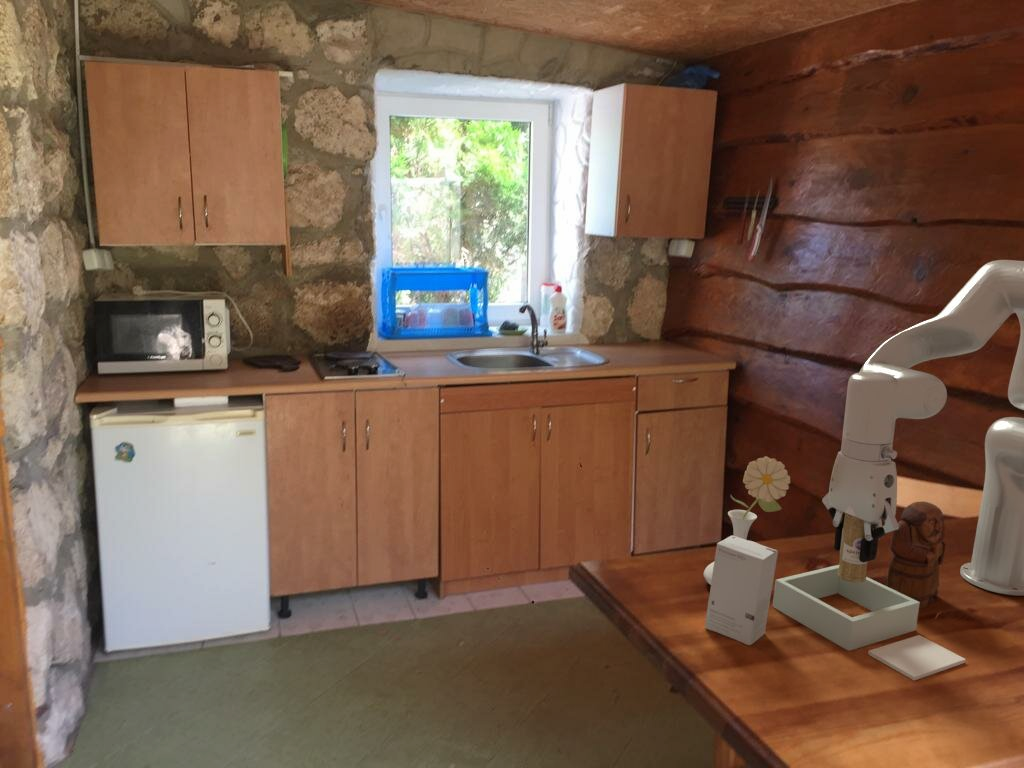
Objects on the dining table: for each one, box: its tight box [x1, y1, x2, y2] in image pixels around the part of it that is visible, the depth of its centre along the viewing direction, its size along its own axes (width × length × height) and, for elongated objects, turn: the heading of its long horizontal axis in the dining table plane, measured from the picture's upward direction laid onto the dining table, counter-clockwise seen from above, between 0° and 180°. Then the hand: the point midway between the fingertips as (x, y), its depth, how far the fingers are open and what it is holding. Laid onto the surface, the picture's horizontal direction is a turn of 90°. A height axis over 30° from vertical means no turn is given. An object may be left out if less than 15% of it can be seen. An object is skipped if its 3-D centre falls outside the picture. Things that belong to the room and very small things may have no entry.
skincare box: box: [704, 534, 779, 646], centre depth 133 cm, size 8×6×15 cm
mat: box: [867, 634, 966, 681], centre depth 128 cm, size 12×8×1 cm, turn 118°
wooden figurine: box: [886, 501, 947, 609], centre depth 147 cm, size 12×6×18 cm, turn 130°
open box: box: [771, 564, 920, 652], centre depth 140 cm, size 16×16×5 cm
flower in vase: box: [703, 456, 791, 586], centre depth 147 cm, size 13×11×25 cm
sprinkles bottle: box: [837, 506, 869, 583], centre depth 138 cm, size 5×5×14 cm
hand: (854, 553), depth 138 cm, fingers closed on sprinkles bottle, 4 cm apart
